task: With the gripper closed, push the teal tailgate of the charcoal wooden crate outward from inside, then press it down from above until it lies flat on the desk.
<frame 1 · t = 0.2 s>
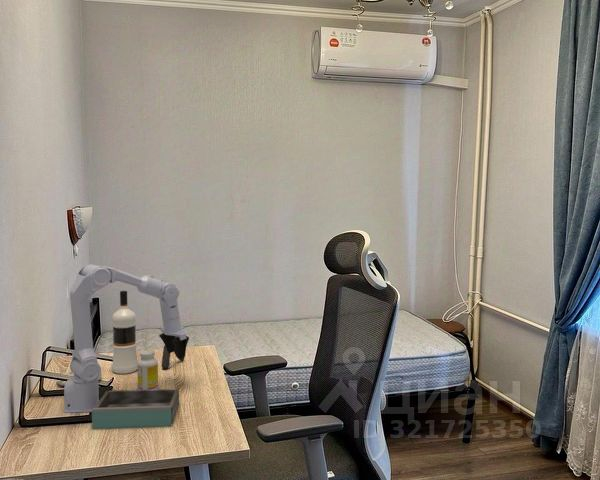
hand: (176, 354, 184), 10 cm above the table, fingers open, 7 cm apart
hand grip strengthener: (173, 365, 205), on the table
supplement bottle: (148, 390, 180), on the table
crate: (138, 415, 159), on the table
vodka: (125, 371, 198), on the table
tailgate: (132, 417, 150), point 3 cm above the table, hinge at 0.0°
game controller: (79, 384, 185), on the table
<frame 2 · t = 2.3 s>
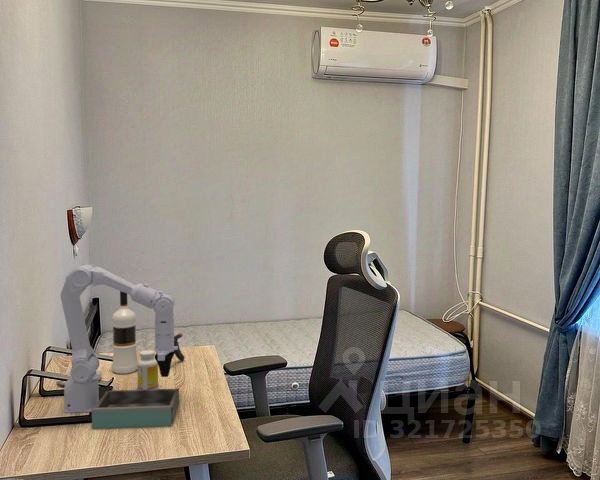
hand: (165, 376, 167), 9 cm above the table, fingers closed
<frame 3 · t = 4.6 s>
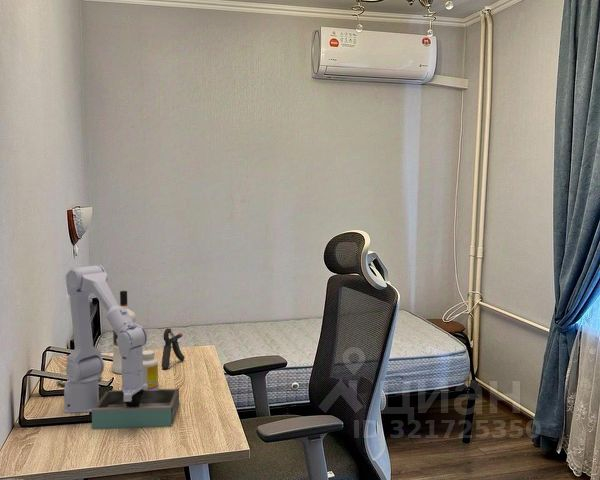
hand: (133, 416, 152), 2 cm above the table, fingers closed, pressing on tailgate
tailgate: (132, 417, 150), point 3 cm above the table, hinge at 0.3°, touching gripper
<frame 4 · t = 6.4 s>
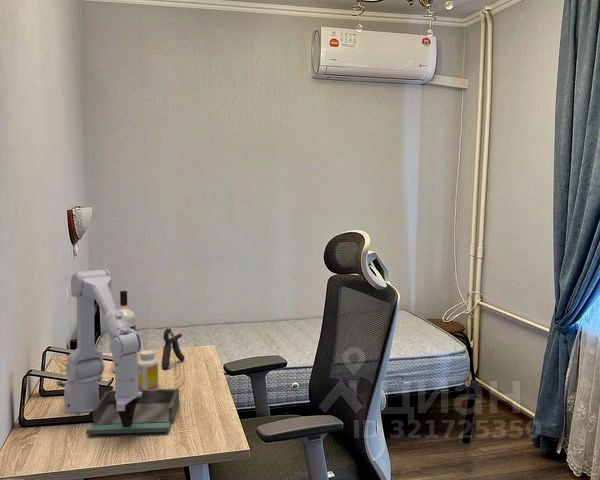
hand: (127, 426, 145), 3 cm above the table, fingers closed
tailgate: (129, 428, 147), point 1 cm above the table, hinge at 79.1°
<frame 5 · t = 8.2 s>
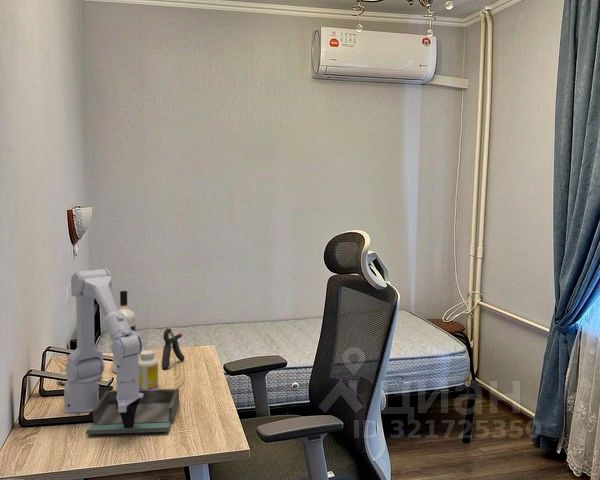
hand: (128, 427, 146), 2 cm above the table, fingers closed
tailgate: (129, 428, 147), point 1 cm above the table, hinge at 79.1°, touching gripper
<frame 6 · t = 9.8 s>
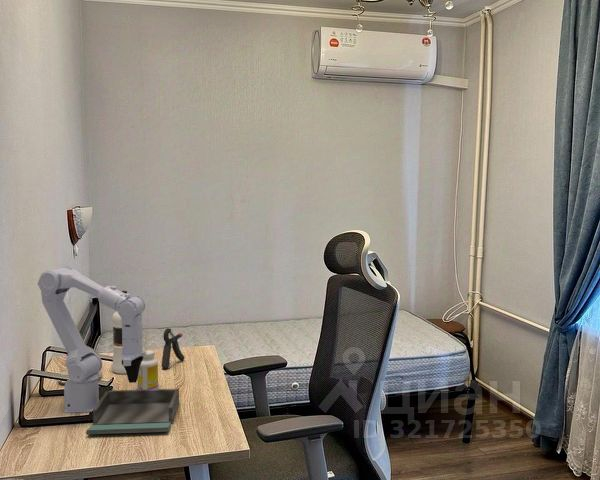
hand: (133, 381, 161), 9 cm above the table, fingers closed
tailgate: (129, 428, 147), point 1 cm above the table, hinge at 79.1°
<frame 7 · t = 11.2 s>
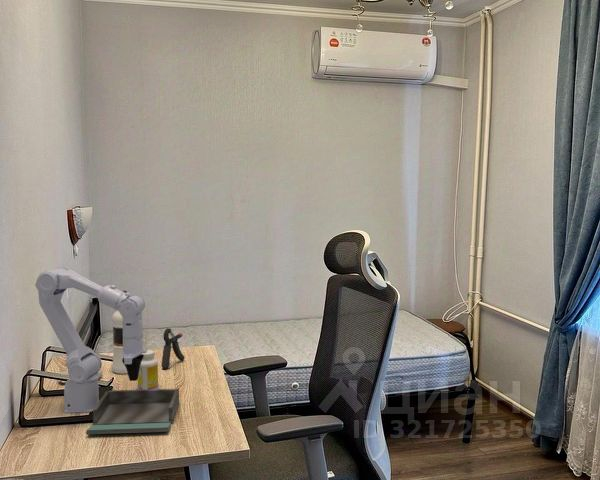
hand: (133, 380, 162), 9 cm above the table, fingers closed
at the end: tailgate at +79° (first picture: +0°) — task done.
